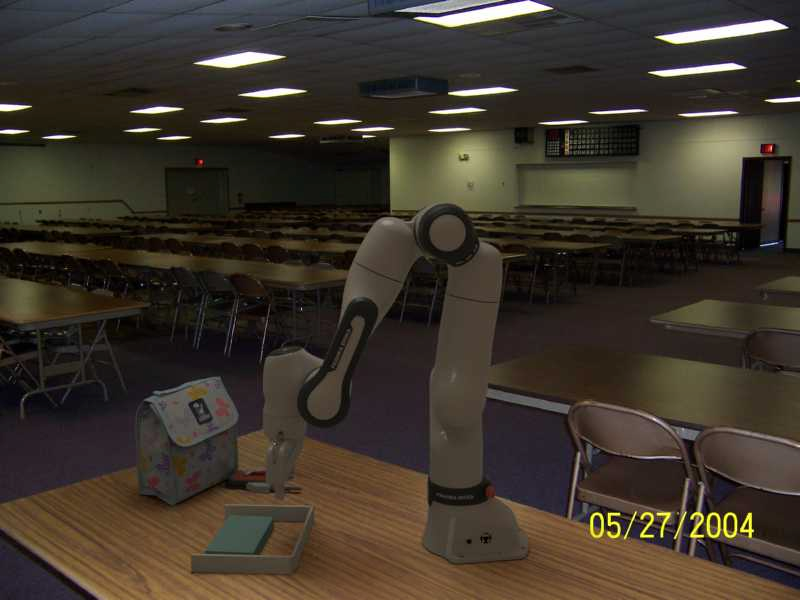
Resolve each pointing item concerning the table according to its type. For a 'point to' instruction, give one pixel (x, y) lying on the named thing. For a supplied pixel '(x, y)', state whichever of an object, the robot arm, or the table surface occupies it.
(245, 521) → the cover plate
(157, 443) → the lunch bag
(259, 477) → the walkie-talkie
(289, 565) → the grey u-shaped frame
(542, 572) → the table surface
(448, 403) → the robot arm
